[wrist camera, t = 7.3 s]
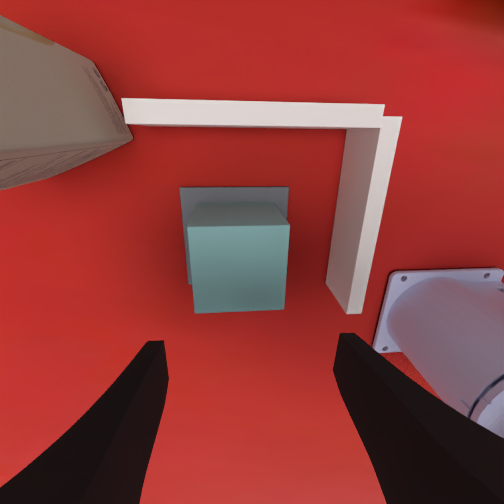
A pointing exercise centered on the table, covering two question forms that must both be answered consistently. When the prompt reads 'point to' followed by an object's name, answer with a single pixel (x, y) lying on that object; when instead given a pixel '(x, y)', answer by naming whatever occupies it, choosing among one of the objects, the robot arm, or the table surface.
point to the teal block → (238, 256)
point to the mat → (227, 195)
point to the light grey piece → (352, 172)
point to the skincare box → (51, 108)
